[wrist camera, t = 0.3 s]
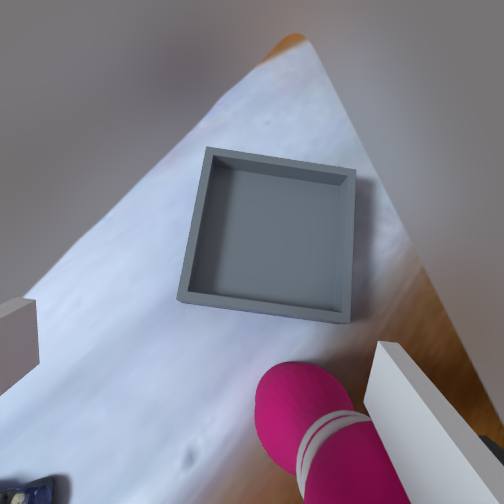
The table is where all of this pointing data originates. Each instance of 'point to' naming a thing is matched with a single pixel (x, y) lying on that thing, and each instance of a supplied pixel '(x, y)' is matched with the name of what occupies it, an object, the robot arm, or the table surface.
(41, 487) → the snack package
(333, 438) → the pepper mill
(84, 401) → the table surface
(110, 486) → the table surface
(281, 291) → the tray
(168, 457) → the table surface
